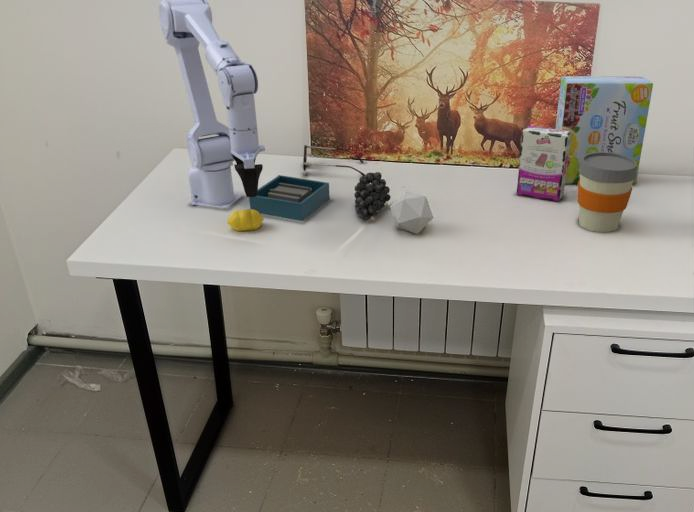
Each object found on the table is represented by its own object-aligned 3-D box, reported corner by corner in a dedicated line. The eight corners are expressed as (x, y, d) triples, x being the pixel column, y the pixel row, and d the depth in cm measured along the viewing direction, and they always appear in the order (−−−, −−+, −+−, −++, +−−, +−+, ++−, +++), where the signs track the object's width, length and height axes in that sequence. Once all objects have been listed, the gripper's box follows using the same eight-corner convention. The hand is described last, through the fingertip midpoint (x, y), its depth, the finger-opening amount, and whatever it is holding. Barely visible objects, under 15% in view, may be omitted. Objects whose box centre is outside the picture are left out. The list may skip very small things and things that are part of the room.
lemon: (229, 235, 159) (226, 216, 157) (228, 227, 163) (225, 208, 160) (265, 232, 161) (263, 212, 159) (263, 224, 165) (261, 204, 162)
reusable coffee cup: (591, 209, 177) (601, 148, 168) (636, 225, 169) (649, 162, 161) (560, 223, 169) (569, 160, 161) (606, 240, 162) (618, 175, 153)
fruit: (370, 188, 160) (386, 164, 172) (336, 196, 163) (354, 171, 175) (382, 223, 164) (397, 197, 176) (349, 231, 167) (366, 204, 179)
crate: (250, 214, 169) (248, 195, 167) (280, 192, 181) (279, 174, 178) (302, 223, 166) (301, 204, 163) (329, 200, 177) (329, 182, 174)
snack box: (627, 173, 198) (646, 75, 184) (636, 185, 191) (656, 83, 176) (548, 172, 197) (560, 73, 183) (554, 184, 190) (567, 82, 176)
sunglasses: (304, 161, 200) (304, 143, 197) (362, 164, 202) (363, 146, 199) (303, 179, 188) (303, 160, 186) (365, 182, 191) (366, 163, 188)
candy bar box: (563, 195, 184) (572, 130, 174) (559, 202, 180) (568, 136, 171) (520, 188, 187) (527, 124, 178) (515, 195, 183) (522, 129, 174)
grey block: (268, 207, 171) (267, 191, 169) (283, 197, 177) (281, 181, 174) (299, 213, 169) (298, 196, 167) (312, 202, 174) (311, 185, 172)
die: (439, 231, 165) (430, 188, 166) (429, 226, 157) (419, 181, 157) (404, 241, 168) (395, 199, 168) (392, 237, 159) (382, 192, 159)
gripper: (266, 136, 145) (272, 200, 153) (258, 115, 157) (264, 176, 164) (230, 138, 144) (238, 203, 151) (225, 117, 155) (232, 179, 163)
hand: (249, 189), depth 158 cm, fingers open, 7 cm apart
